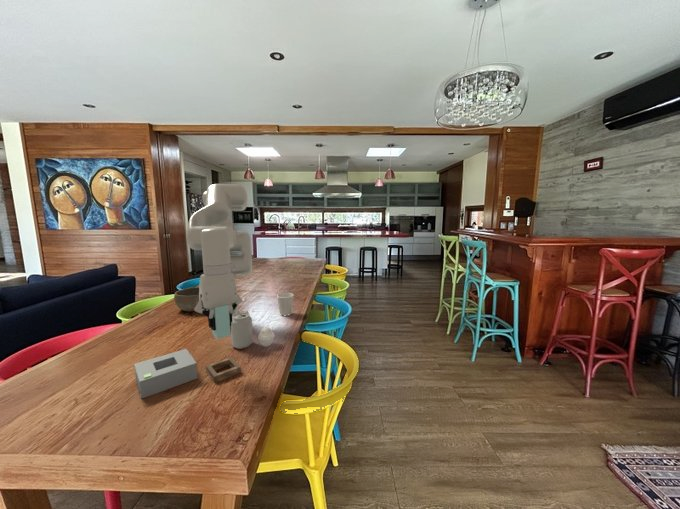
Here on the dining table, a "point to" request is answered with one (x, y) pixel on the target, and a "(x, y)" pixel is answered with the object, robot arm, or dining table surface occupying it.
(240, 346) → the can
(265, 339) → the white rounded lump
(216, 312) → the plug
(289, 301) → the dixie cup
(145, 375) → the port block
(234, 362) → the square wooden frame
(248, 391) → the dining table surface
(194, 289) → the bowl
